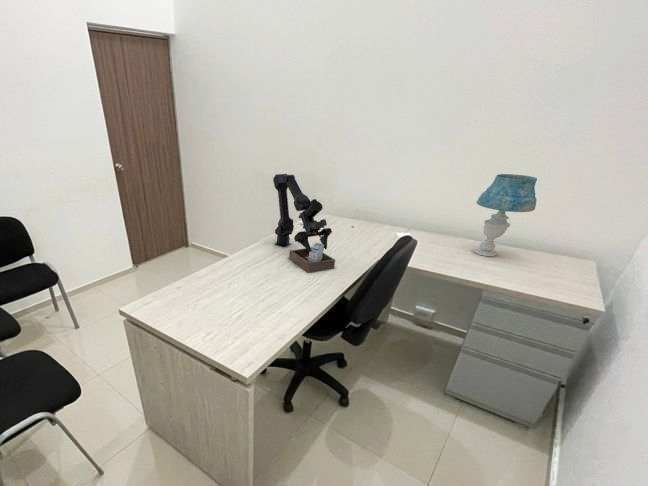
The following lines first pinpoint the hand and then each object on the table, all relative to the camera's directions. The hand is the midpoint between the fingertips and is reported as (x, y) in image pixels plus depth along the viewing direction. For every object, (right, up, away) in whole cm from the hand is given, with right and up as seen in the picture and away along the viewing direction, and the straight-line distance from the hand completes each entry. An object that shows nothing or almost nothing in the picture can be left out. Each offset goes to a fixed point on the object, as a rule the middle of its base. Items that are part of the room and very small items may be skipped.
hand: (318, 250), depth 160 cm
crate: (-2, -5, +8) cm, 10 cm away
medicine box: (-1, -5, +5) cm, 7 cm away
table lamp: (+97, +1, +19) cm, 99 cm away
